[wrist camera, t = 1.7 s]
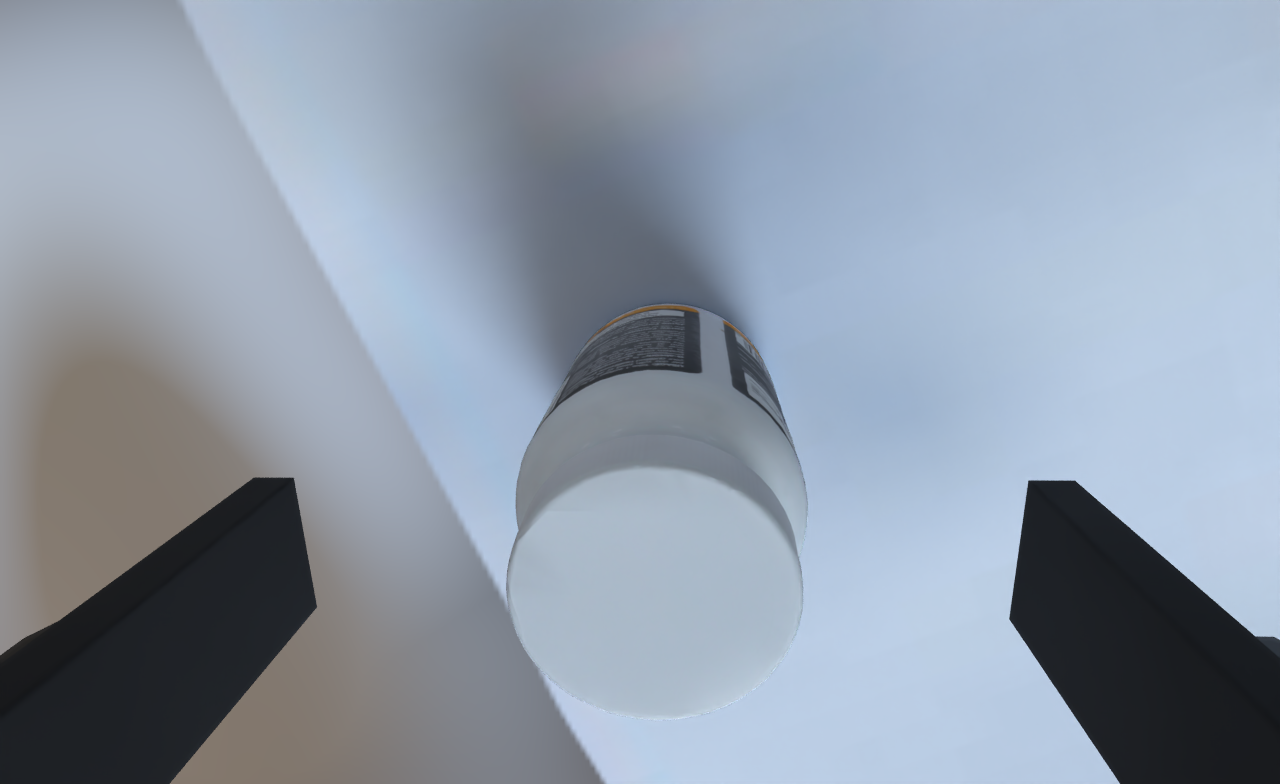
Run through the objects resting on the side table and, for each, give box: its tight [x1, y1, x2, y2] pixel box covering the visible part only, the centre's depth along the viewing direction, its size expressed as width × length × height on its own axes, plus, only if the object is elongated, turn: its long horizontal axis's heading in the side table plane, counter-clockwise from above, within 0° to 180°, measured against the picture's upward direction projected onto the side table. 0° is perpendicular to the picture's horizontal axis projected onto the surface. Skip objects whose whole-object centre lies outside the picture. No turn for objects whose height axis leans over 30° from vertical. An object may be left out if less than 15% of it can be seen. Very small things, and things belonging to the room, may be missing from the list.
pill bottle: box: [506, 303, 808, 720], centre depth 16 cm, size 6×6×10 cm
